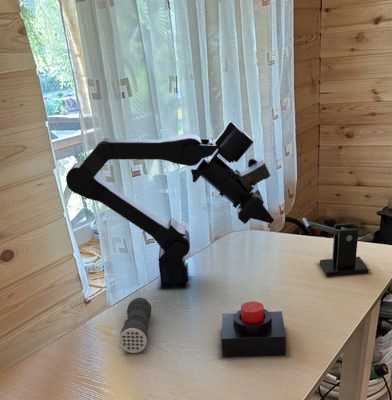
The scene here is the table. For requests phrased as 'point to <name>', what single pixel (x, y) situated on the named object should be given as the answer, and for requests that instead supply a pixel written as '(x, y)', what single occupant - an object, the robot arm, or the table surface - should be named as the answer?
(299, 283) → the table surface
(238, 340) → the stop box
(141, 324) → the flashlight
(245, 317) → the stop button
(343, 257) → the switch bracket
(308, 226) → the switch lever
